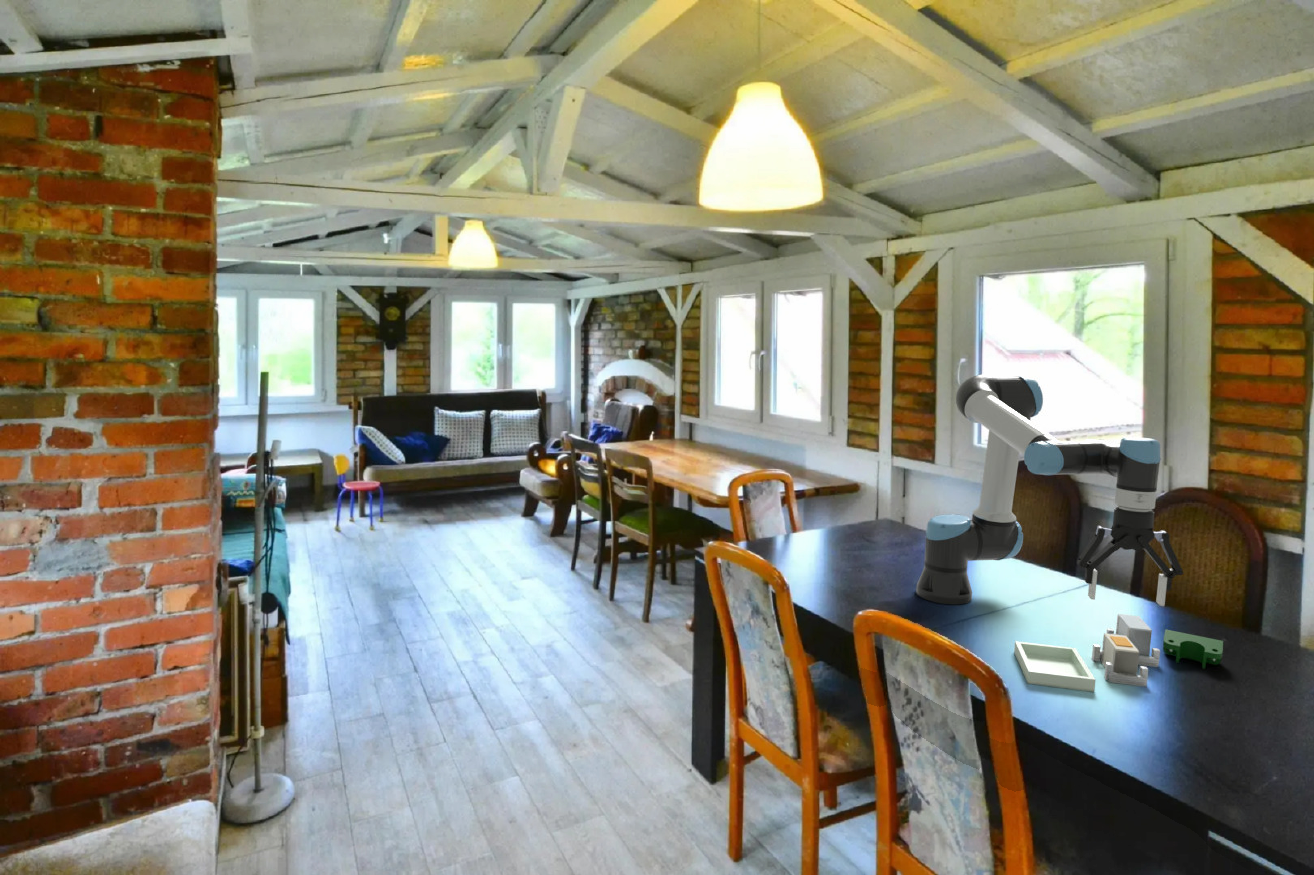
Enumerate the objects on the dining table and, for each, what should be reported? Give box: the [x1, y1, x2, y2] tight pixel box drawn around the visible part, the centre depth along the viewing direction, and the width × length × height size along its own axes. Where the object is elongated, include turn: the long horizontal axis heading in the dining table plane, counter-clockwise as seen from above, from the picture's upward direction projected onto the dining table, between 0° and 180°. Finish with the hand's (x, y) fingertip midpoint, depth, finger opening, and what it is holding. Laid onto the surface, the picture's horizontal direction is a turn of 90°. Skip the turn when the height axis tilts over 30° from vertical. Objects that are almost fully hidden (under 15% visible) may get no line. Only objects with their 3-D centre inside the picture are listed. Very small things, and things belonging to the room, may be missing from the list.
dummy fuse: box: [1115, 613, 1153, 656], centre depth 179 cm, size 5×9×8 cm, turn 164°
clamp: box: [1162, 629, 1224, 669], centre depth 175 cm, size 12×6×9 cm, turn 46°
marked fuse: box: [1100, 633, 1139, 675], centre depth 170 cm, size 5×9×7 cm, turn 164°
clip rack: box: [1091, 628, 1161, 688], centre depth 175 cm, size 14×26×4 cm, turn 164°
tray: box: [1013, 640, 1096, 693], centre depth 170 cm, size 13×17×3 cm
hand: (1125, 600), depth 168 cm, fingers open, 13 cm apart
